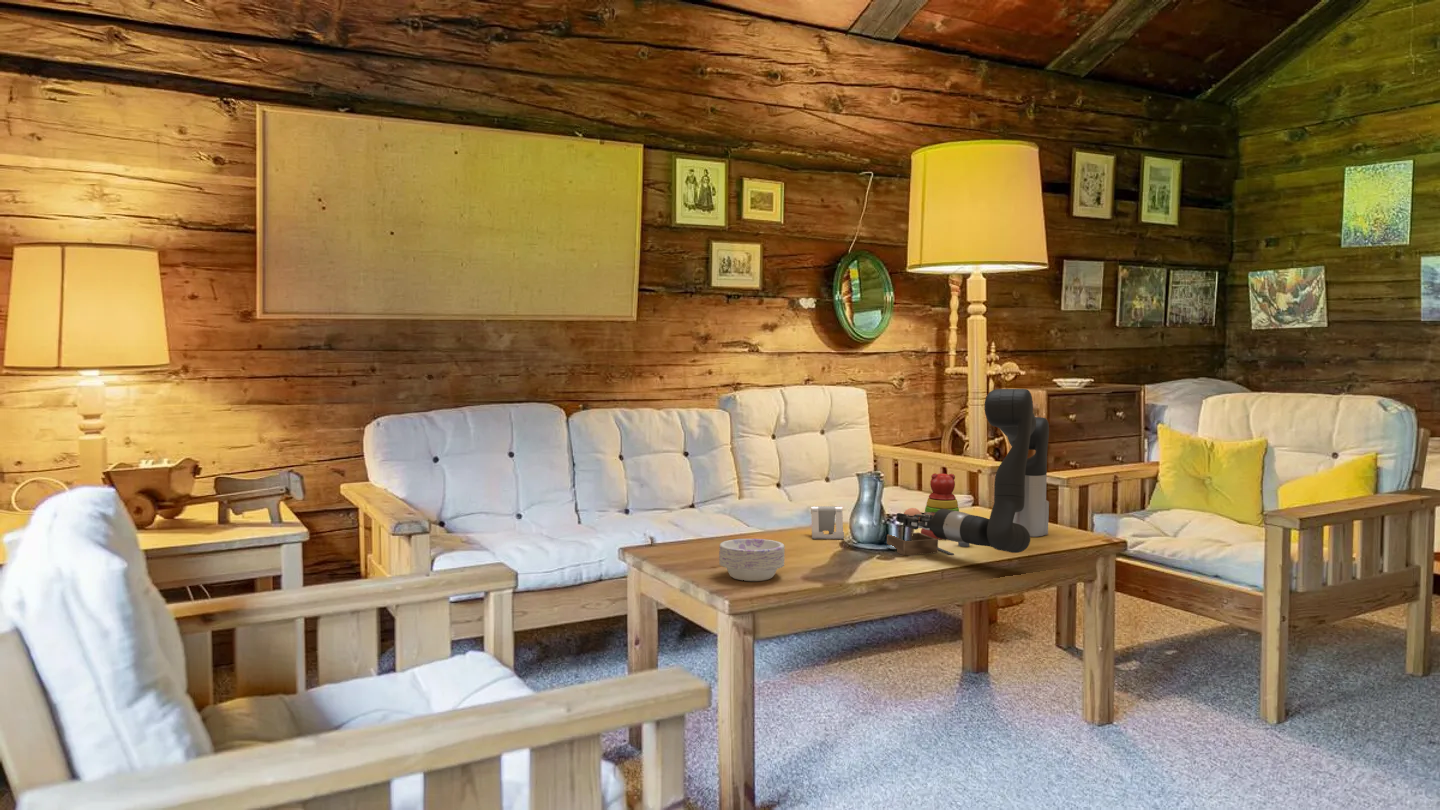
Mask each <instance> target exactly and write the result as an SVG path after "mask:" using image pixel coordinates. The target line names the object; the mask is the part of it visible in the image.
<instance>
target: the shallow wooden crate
mask: <svg viewBox="0 0 1440 810" xmlns="http://www.w3.org/2000/svg"><path fill="white" fill-rule="evenodd" d="M912 533H913V536H912V540H913V541H905V540H902V539H900V538H897V537H895V536H892V535H889V534H886V545H887V544H888V545H892V546H894V547H895V548H896V549H897V552H896V553H898V554H900V555H903V556H913V555H915V556H917V555H926V554H928V555H929V554H938V552H939V551H938V548H939V539H935V538H933V537H930V536H927V535H925V534H922V533H921V532H919V531H918V532H912Z"/></svg>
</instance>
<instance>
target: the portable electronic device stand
mask: <svg viewBox="0 0 1440 810" xmlns="http://www.w3.org/2000/svg"><path fill="white" fill-rule="evenodd" d="M810 515H811V539H812V540H840V539H841V540H844V539H845V532H844V522H843V521H844V520H843V518H844V517H843V506H841V505H840V506H835V505H832V506H829V505H828V506H827V505H824V506H822V505H821V506H820V505H815V506H814V505H812V506H811V505H810ZM825 532H828V534H825ZM843 538H844V539H843Z"/></svg>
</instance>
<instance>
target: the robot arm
mask: <svg viewBox="0 0 1440 810" xmlns="http://www.w3.org/2000/svg"><path fill="white" fill-rule="evenodd" d="M984 414H985V417H986V419H987V422H988V423H989V425H991V426H992V427H994V428H995V427H996V428H998V429H999V430H1000V431H1001V432H1002V434H1004V435H1005V436H1006V438H1007V440H1008V442H1009V445H1010V446H1011V447H1010V449H1009V451H1008V452H1007V454H1006V456H1005V457H1004V458H1003V460H1002V461H1001V463H999V466H998V468H997V470H996V473H995V476H994V490H993V491H994V492H993V495H994V496H993V506H992V509H991V511H990V515H989V518H987V517H983V516H980V515H974V514H970V513H966V512H965V511H964V512H963V511H960V510H959V511H953V510H948V509H940V510H938V511H937V512H925V511H924V512H923V511H920V512H921V514H915V515H909V514H908V515H907V514H904V513H901V512H898V513H896V522H899V523H902V526H904V527H906V528H909V529H913V530H919V529H922V528H923V529H925V530H932V532H933V534H934V535H935V536H936V537H938V538H941V539H940V540H943V539H946V540H947V541H951V542H957V543H958V542H961V543H969V544H970V545H975V546H984V547H990V548H993V549H995V550H998V551H1002V552H1006V553H1012V554H1018V553H1022V552H1023V551H1025V550H1026V549H1027V548H1028V547H1029V545H1030V543H1031V537H1044V536H1046V535H1049V516H1050V515H1049V510H1050V507H1049V506H1050V501H1049V500H1047V477H1048V476H1047V474H1048V473H1047V470H1048V467H1047V466H1048V448H1049V446H1048V445H1049V438H1050V424H1049V421H1048V419H1047V418H1046V417H1040V416H1038V417H1037V416H1035V414H1034V402H1033V396H1032V393H1031V391H1030V390H1029V389H1028V388H997V389H992V390H991V391H989V393H988V394H987V395H986V398H985V400H984ZM1030 450H1032V451H1034V452H1035V453H1034V454H1033V455H1032V456H1030V457H1029V458H1028V455H1029V451H1030ZM919 517H920V521H919ZM946 540H945V541H946Z"/></svg>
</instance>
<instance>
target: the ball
mask: <svg viewBox="0 0 1440 810" xmlns="http://www.w3.org/2000/svg"><path fill="white" fill-rule="evenodd" d="M921 512H922V511H920V510H919V509H918V508H915V507H910V508H907V509H906V510H905V511H904V512H903V514H907V515H908V514H909V515H915V514H921ZM919 521H920V517H919Z"/></svg>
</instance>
